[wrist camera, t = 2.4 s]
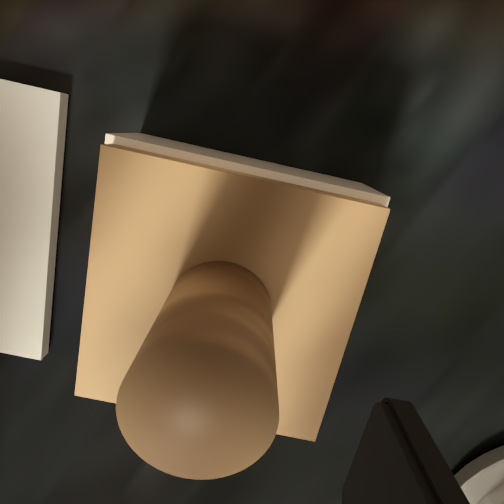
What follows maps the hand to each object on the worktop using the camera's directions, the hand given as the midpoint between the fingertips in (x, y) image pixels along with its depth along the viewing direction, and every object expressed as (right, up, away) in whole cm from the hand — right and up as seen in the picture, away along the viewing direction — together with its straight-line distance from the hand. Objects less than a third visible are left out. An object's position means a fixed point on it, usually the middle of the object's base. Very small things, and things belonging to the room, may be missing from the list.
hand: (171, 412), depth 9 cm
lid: (+1, +2, +7) cm, 8 cm away
